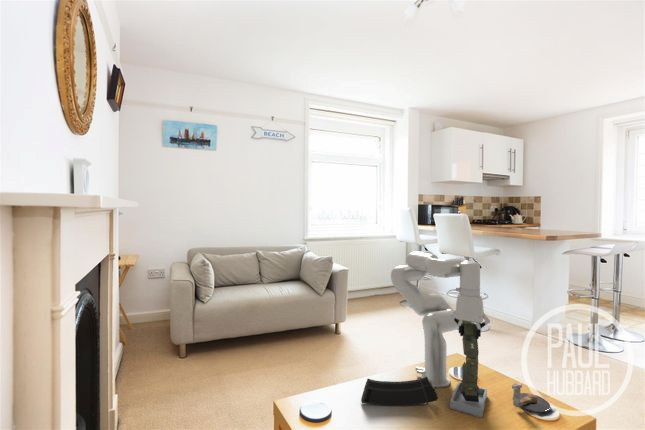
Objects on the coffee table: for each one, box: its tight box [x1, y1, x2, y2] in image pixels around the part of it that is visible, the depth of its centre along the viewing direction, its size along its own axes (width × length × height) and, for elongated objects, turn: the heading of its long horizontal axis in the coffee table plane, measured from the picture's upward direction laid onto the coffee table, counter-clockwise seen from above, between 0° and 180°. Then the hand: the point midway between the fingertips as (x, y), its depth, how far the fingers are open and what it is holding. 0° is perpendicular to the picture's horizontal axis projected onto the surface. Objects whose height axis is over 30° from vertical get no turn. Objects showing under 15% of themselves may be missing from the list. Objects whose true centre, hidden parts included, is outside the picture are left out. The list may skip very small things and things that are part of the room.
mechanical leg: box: [459, 321, 480, 402], centre depth 142 cm, size 14×7×30 cm, turn 168°
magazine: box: [360, 376, 439, 407], centre depth 142 cm, size 17×3×30 cm
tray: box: [449, 382, 488, 419], centre depth 142 cm, size 12×17×3 cm
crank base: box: [519, 392, 551, 415], centre depth 140 cm, size 12×12×2 cm
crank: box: [511, 382, 538, 408], centre depth 138 cm, size 13×4×8 cm, turn 114°
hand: (469, 336), depth 141 cm, fingers closed on mechanical leg, 5 cm apart
